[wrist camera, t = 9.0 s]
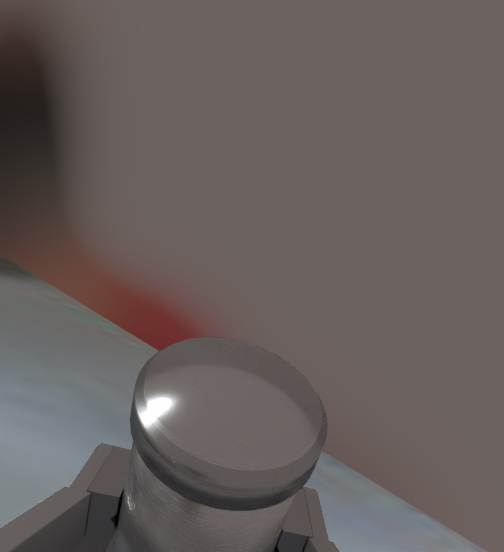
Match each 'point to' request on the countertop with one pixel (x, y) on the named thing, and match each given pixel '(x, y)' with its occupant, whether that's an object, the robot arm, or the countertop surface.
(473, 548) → the countertop surface
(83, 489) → the robot arm
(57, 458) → the countertop surface
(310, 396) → the grey cylinder
